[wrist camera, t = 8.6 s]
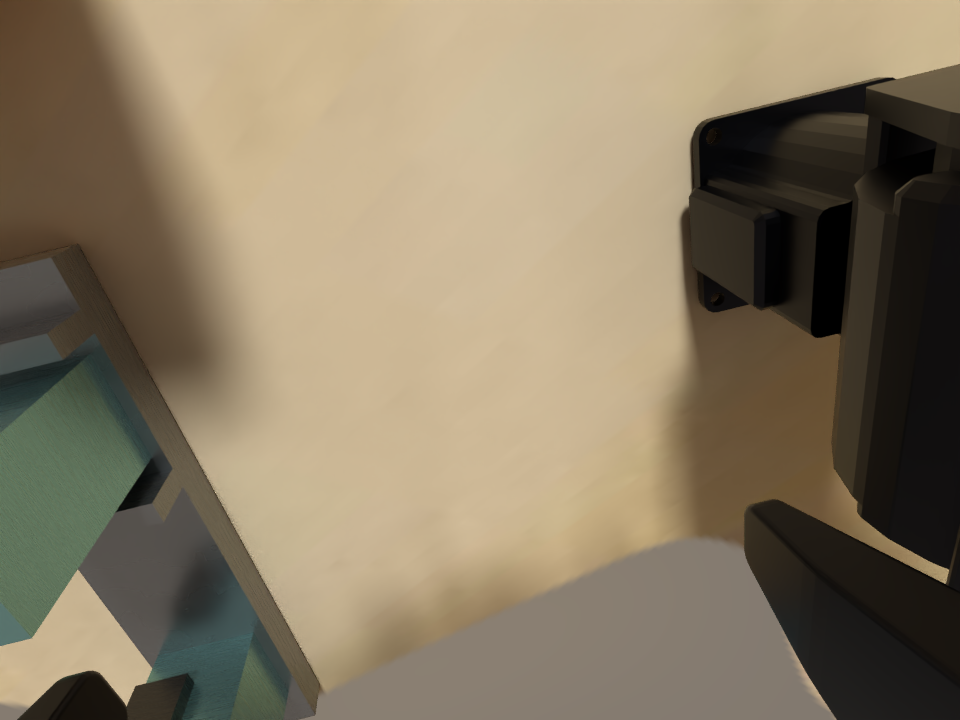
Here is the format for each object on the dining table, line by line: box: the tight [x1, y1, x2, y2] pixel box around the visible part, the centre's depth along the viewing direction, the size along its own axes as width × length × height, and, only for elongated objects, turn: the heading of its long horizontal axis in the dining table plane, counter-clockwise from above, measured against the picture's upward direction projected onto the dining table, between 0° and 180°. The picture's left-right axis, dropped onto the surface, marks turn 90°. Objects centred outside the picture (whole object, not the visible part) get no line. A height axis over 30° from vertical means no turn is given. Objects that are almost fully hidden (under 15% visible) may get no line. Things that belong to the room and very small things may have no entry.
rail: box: [0, 244, 319, 720], centre depth 19 cm, size 5×22×8 cm, turn 12°
